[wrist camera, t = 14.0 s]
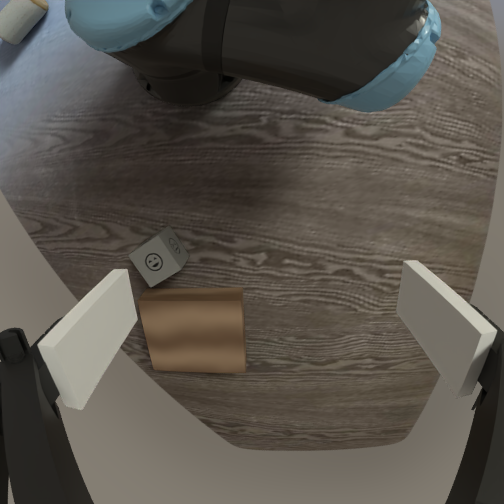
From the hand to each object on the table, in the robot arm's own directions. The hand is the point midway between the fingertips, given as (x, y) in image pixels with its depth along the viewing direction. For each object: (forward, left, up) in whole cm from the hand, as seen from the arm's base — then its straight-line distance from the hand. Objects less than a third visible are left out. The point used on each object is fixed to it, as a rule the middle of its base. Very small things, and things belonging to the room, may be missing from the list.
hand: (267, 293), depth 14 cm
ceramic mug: (-35, -37, -27) cm, 58 cm away
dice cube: (+9, -12, -24) cm, 28 cm away
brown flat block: (+18, -10, -27) cm, 34 cm away
